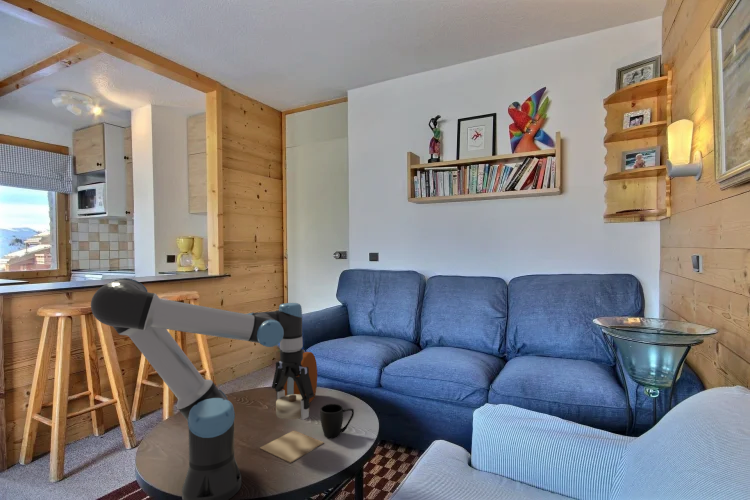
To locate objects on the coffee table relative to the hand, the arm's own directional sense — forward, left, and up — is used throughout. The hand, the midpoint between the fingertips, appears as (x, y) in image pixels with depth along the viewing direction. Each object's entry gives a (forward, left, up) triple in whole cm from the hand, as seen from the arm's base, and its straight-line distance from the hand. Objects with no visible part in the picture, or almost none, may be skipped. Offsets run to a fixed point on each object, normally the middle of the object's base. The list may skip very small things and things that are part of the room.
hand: (292, 413), depth 130 cm
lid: (0, 0, 0) cm, 1 cm away
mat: (0, 0, -11) cm, 11 cm away
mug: (+15, -7, -11) cm, 20 cm away
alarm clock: (+27, +26, -11) cm, 39 cm away
